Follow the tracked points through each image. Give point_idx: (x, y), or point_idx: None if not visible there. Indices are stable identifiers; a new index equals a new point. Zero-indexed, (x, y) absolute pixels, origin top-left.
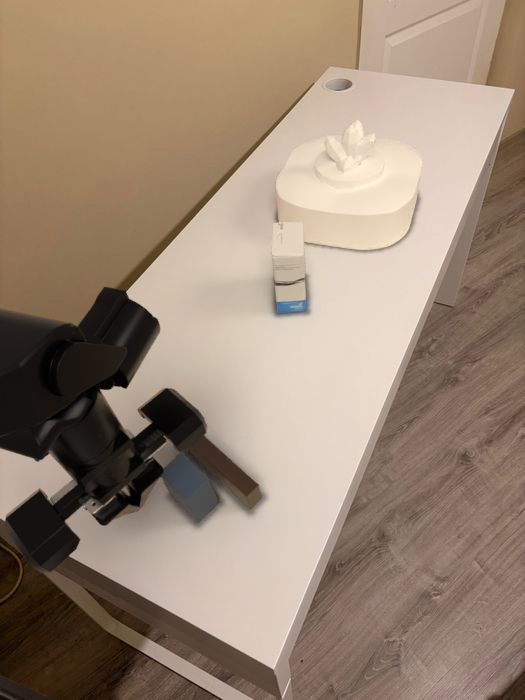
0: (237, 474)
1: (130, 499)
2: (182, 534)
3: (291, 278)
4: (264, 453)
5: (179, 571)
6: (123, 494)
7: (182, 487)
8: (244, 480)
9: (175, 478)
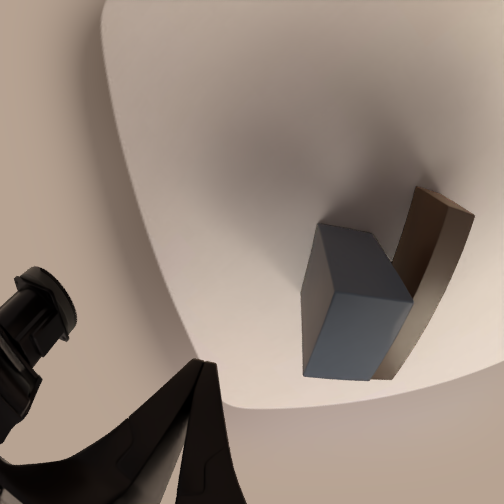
0: (401, 351)
1: (173, 452)
2: (269, 282)
3: None
4: (446, 306)
5: (222, 309)
6: (151, 494)
7: (327, 357)
8: (393, 364)
9: (341, 336)
